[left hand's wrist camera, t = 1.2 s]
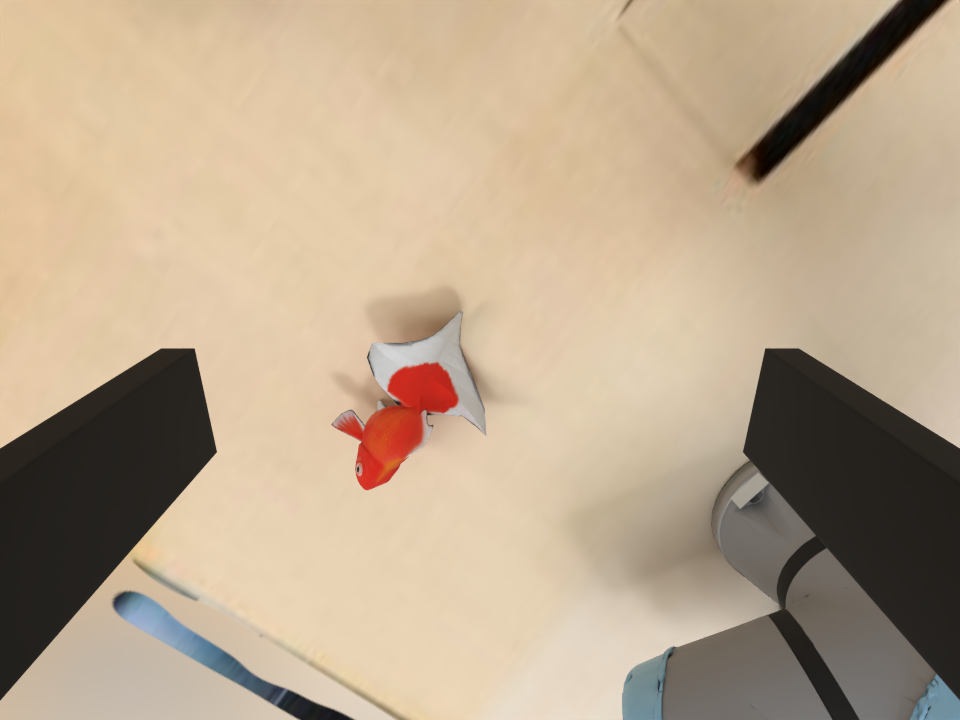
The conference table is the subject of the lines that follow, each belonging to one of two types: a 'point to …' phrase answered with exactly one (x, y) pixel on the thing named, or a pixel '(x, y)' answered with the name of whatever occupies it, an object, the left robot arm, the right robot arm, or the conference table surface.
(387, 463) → the fish
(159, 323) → the conference table surface
